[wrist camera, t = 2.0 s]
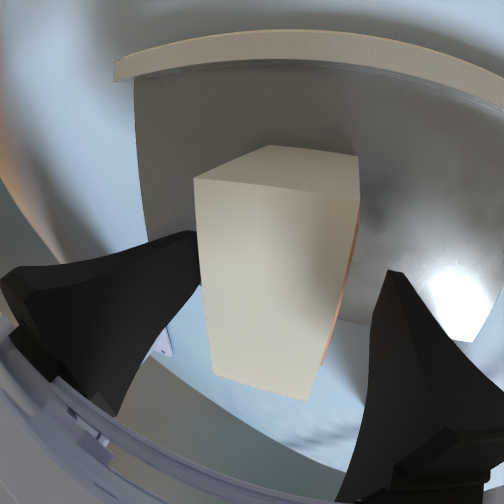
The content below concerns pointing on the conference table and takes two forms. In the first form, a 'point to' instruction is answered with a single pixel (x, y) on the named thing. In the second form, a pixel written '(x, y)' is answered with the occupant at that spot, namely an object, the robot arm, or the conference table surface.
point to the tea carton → (275, 262)
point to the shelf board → (341, 149)
